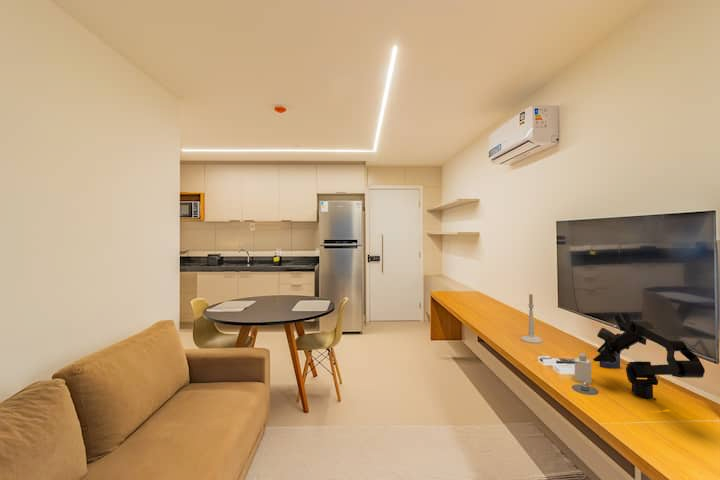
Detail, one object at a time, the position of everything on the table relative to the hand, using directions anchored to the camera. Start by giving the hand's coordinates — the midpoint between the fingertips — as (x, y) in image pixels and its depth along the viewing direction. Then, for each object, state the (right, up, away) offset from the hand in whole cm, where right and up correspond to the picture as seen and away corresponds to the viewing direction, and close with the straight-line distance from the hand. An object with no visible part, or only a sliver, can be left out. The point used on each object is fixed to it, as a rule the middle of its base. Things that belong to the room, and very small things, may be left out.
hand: (595, 355), depth 160 cm
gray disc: (-12, -12, -11) cm, 20 cm away
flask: (+17, -11, +15) cm, 26 cm away
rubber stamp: (-6, -12, -1) cm, 14 cm away
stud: (-12, -11, -11) cm, 20 cm away
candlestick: (0, -10, +60) cm, 61 cm away
